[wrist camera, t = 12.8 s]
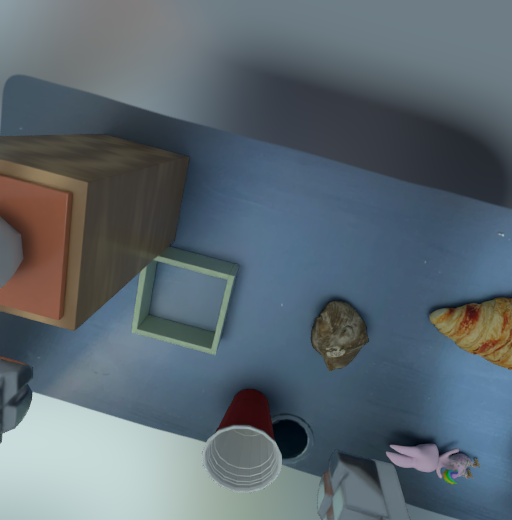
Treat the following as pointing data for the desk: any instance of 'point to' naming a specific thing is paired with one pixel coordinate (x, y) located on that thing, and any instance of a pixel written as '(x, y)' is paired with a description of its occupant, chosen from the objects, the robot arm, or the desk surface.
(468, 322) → the croissant
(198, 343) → the holder
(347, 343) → the fossilized seashell
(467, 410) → the desk surface
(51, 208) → the coaster
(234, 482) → the plastic cup
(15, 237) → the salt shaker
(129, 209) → the block
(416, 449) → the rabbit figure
